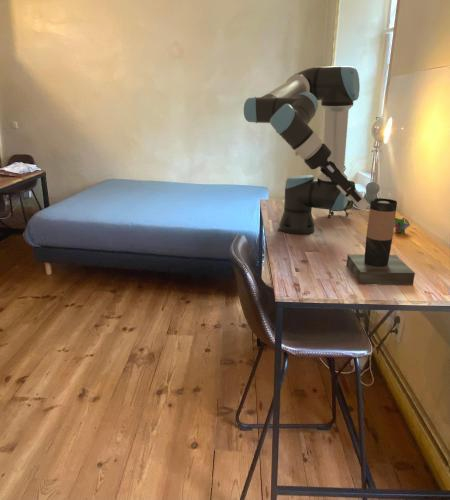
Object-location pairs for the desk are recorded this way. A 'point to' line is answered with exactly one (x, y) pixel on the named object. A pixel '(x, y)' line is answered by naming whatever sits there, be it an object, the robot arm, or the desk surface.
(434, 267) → the desk surface
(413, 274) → the stand
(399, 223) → the geometric puzzle
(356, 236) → the desk surface
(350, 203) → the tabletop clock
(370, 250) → the travel mug
